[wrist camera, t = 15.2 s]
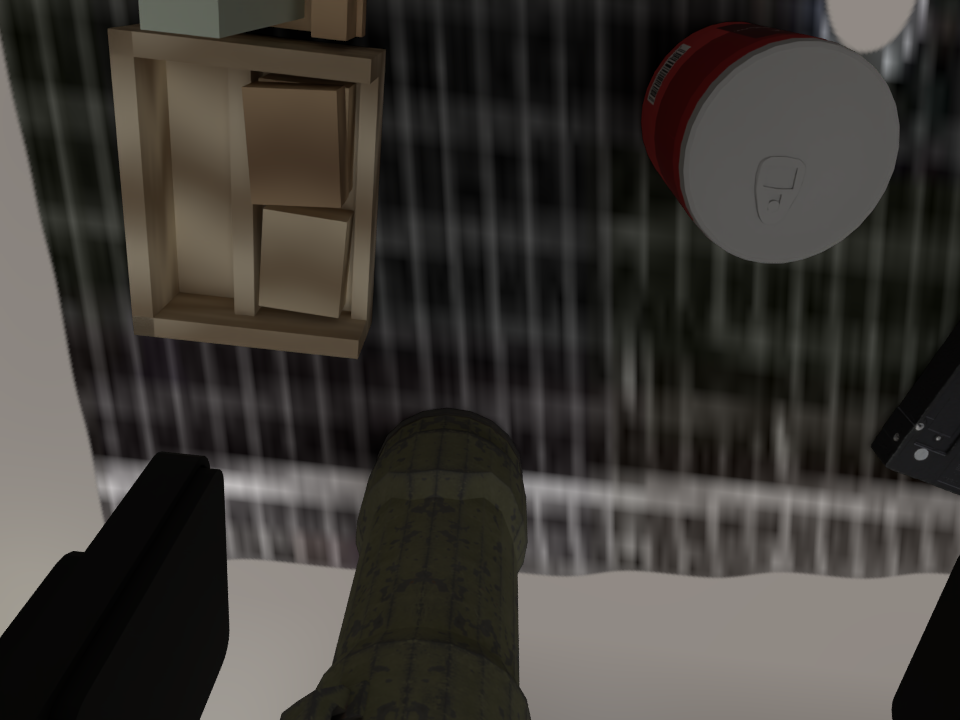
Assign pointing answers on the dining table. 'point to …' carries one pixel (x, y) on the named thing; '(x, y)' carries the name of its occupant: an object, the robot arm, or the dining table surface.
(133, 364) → the dining table surface
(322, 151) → the offcut
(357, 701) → the thermos
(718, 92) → the canned food
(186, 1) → the grey-green flat slab
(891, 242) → the dining table surface
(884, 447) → the disk drive
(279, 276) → the offcut
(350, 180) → the offcut
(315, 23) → the stand
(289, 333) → the rack
